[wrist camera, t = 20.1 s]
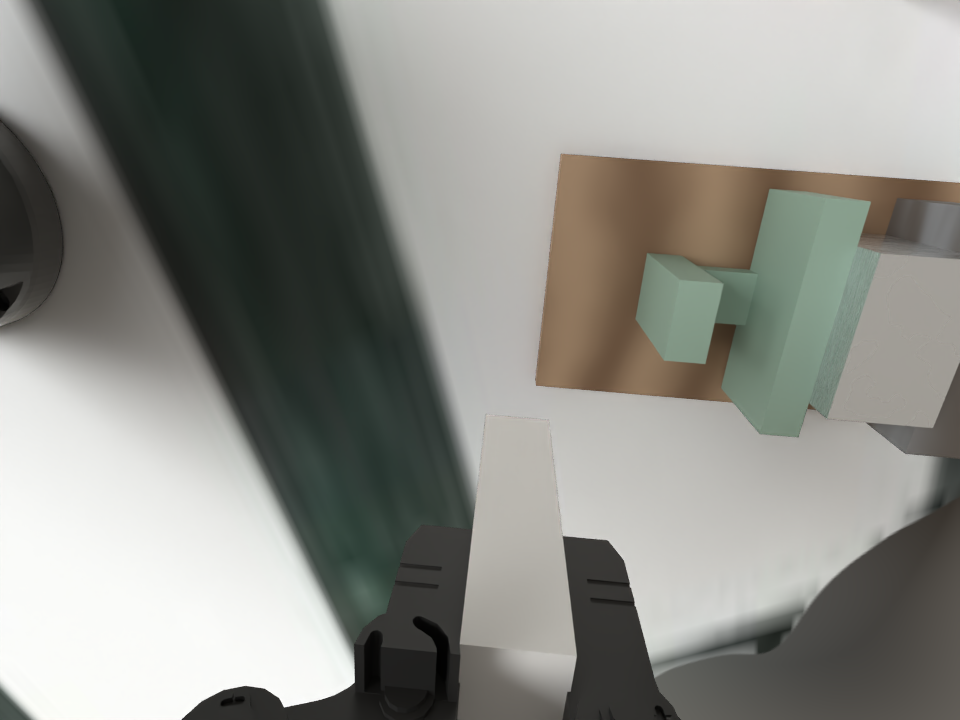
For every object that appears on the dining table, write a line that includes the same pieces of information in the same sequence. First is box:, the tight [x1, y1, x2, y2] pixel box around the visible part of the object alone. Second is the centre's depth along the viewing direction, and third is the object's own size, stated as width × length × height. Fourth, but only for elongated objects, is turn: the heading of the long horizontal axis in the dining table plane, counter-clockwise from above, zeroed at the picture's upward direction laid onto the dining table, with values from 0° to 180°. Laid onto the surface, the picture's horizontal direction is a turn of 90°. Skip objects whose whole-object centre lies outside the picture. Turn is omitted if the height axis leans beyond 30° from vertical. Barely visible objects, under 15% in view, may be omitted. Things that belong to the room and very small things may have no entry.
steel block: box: [809, 233, 960, 428], centre depth 29 cm, size 5×8×8 cm, turn 176°
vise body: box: [535, 154, 960, 459], centre depth 30 cm, size 22×14×8 cm, turn 86°
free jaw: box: [636, 189, 871, 437], centre depth 30 cm, size 8×12×7 cm, turn 176°
